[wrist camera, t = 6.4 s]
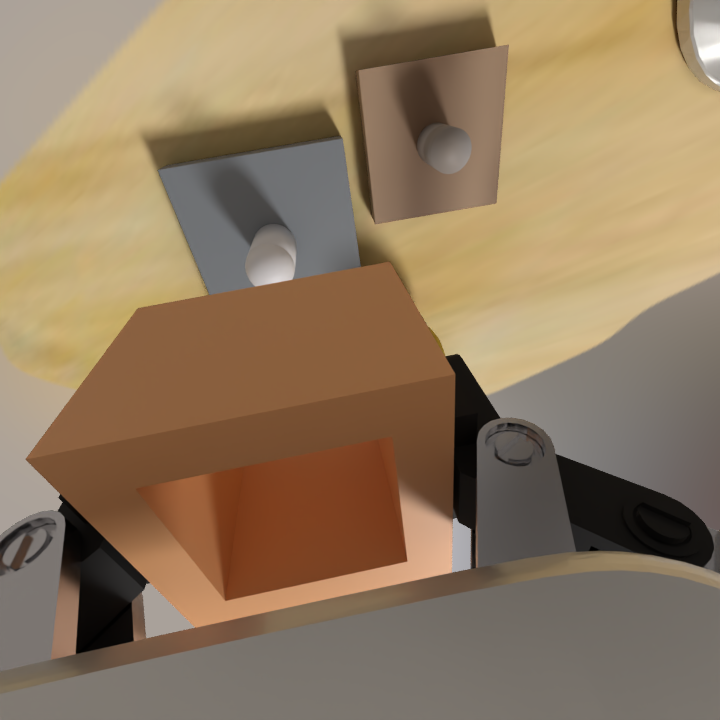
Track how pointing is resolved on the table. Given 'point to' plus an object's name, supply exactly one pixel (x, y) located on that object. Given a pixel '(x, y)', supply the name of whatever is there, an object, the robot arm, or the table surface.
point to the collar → (267, 445)
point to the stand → (433, 133)
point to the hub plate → (266, 214)
